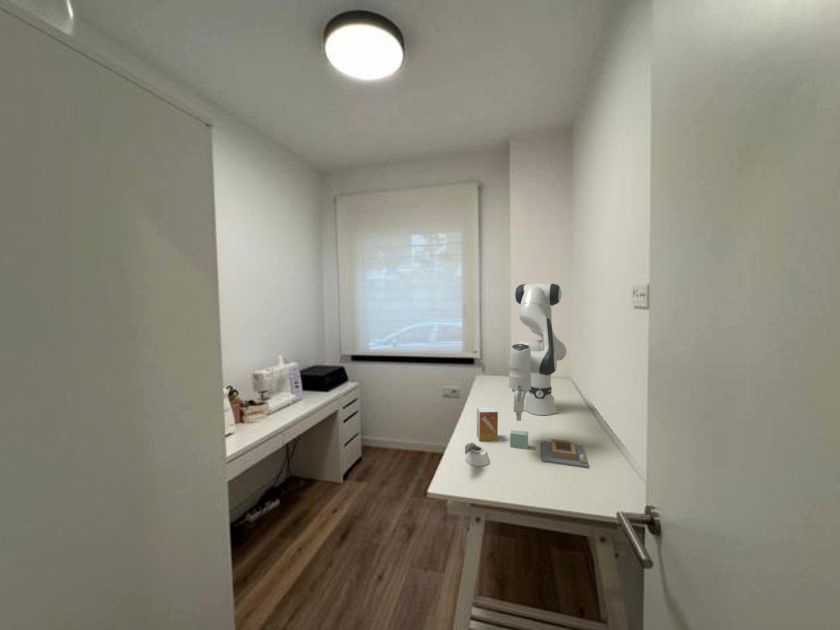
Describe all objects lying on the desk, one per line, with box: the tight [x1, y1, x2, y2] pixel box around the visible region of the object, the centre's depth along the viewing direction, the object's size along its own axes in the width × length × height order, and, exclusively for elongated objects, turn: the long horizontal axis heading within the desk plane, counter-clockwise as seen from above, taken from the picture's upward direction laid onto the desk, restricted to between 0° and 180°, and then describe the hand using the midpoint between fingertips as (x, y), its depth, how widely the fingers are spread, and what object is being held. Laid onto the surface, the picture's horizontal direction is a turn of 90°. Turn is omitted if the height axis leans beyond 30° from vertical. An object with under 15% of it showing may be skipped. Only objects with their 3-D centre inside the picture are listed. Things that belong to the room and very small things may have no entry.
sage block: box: [509, 429, 529, 450], centre depth 144 cm, size 4×7×6 cm, turn 71°
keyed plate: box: [541, 438, 589, 469], centre depth 137 cm, size 18×16×4 cm
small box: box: [476, 406, 499, 442], centre depth 152 cm, size 8×6×13 cm
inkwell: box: [464, 442, 490, 467], centre depth 128 cm, size 9×18×10 cm, turn 155°
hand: (519, 416), depth 143 cm, fingers open, 8 cm apart
